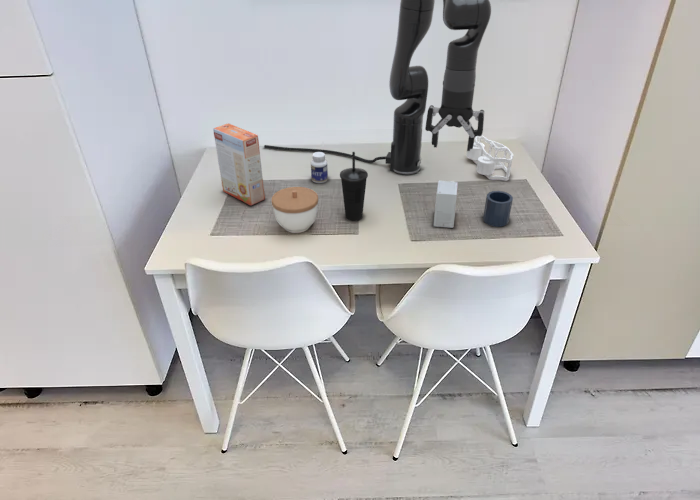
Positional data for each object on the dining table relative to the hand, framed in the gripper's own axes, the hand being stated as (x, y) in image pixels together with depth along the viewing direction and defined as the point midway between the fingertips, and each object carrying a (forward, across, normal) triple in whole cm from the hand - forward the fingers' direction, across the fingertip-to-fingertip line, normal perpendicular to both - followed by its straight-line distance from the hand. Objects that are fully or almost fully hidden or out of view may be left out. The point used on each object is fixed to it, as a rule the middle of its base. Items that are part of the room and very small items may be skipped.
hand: (451, 148), depth 138 cm
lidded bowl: (+22, +39, +14) cm, 47 cm away
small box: (+22, 0, 0) cm, 22 cm away
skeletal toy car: (+22, -9, -37) cm, 44 cm away
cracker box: (+22, +61, +2) cm, 65 cm away
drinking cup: (+22, +25, +5) cm, 34 cm away
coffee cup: (+22, -14, -4) cm, 26 cm away
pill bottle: (+22, +42, -14) cm, 50 cm away
